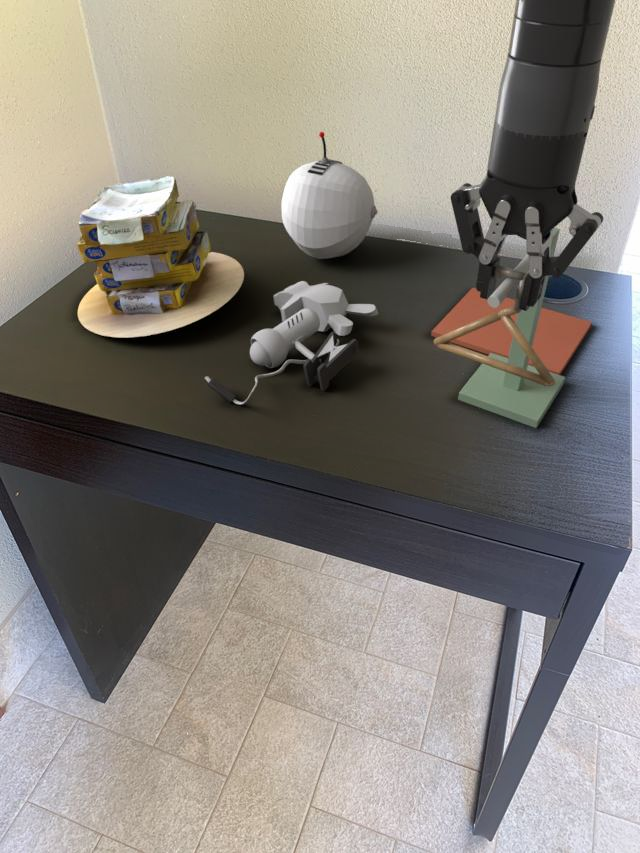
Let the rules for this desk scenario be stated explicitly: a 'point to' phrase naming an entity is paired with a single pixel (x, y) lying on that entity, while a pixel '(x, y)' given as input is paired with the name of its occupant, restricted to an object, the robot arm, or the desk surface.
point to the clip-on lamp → (278, 341)
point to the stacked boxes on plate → (150, 262)
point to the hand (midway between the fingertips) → (506, 300)
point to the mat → (550, 342)
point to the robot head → (327, 207)
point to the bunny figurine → (321, 305)
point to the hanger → (504, 315)
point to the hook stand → (507, 389)
